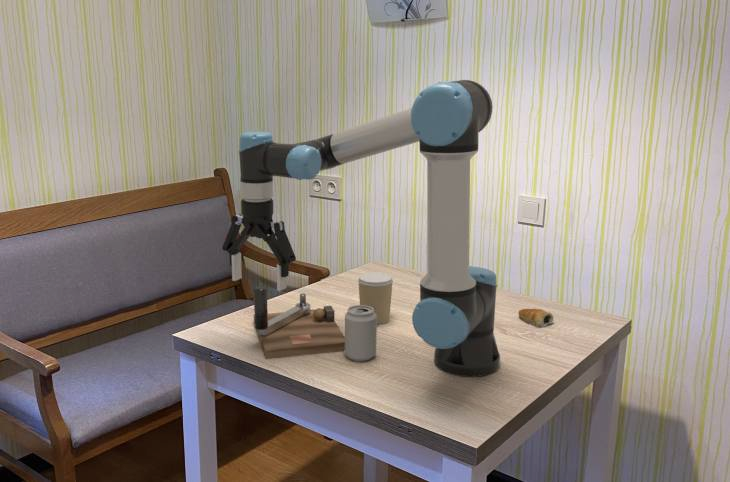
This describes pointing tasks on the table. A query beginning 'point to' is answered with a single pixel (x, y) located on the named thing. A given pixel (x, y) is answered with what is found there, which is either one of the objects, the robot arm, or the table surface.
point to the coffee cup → (376, 293)
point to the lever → (278, 321)
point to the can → (360, 333)
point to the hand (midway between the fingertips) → (259, 284)
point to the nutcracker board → (304, 335)
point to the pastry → (536, 317)
